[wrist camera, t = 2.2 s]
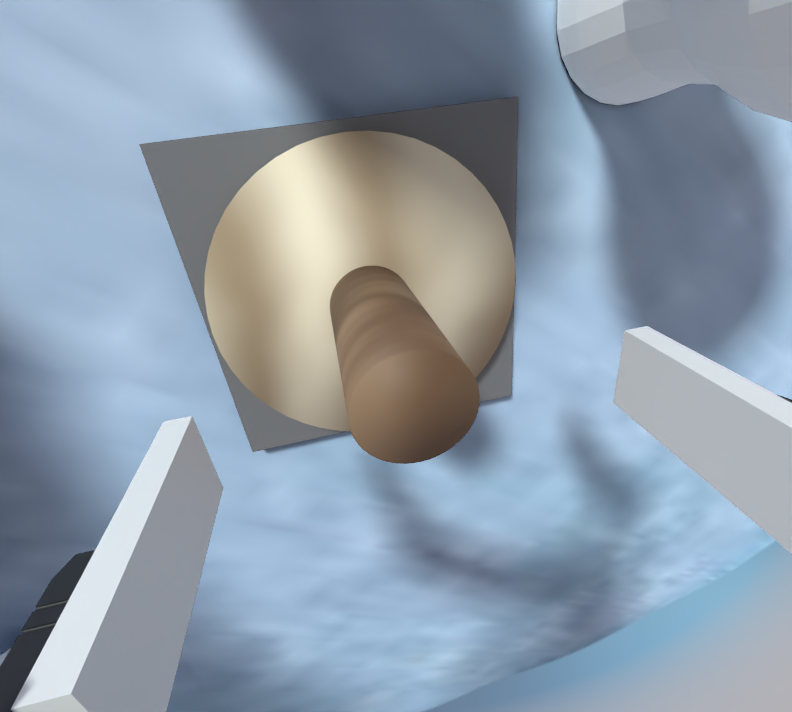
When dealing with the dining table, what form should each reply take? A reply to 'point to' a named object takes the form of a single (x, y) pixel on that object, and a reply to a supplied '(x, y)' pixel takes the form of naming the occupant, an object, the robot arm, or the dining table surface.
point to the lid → (363, 290)
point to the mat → (251, 150)
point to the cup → (680, 49)
